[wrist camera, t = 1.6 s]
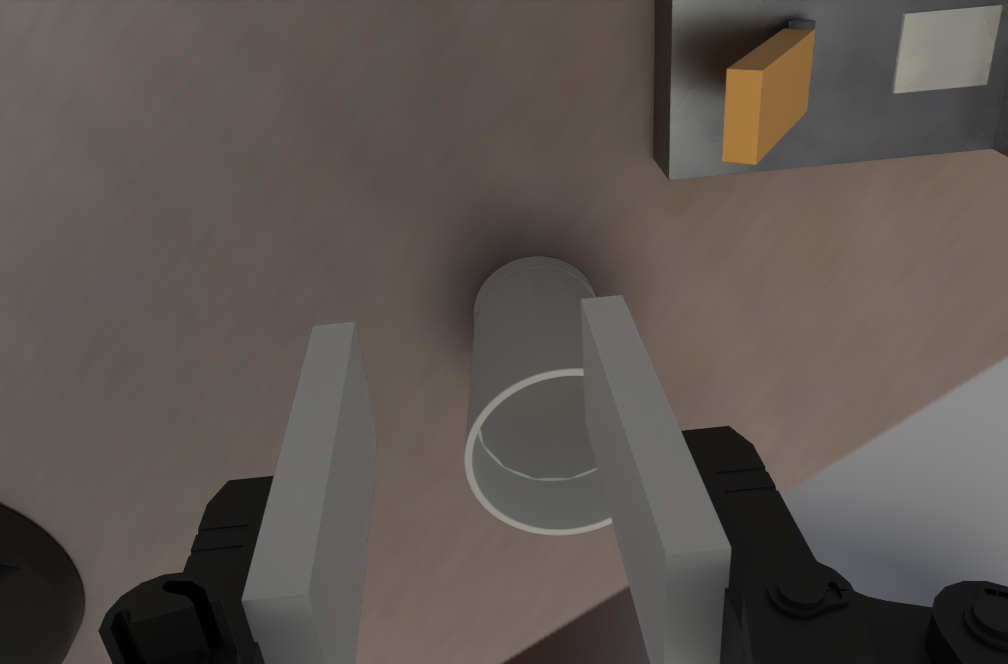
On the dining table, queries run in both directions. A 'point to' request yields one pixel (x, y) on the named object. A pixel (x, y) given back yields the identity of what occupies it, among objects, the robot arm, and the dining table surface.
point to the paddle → (767, 93)
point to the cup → (532, 401)
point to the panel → (836, 80)
